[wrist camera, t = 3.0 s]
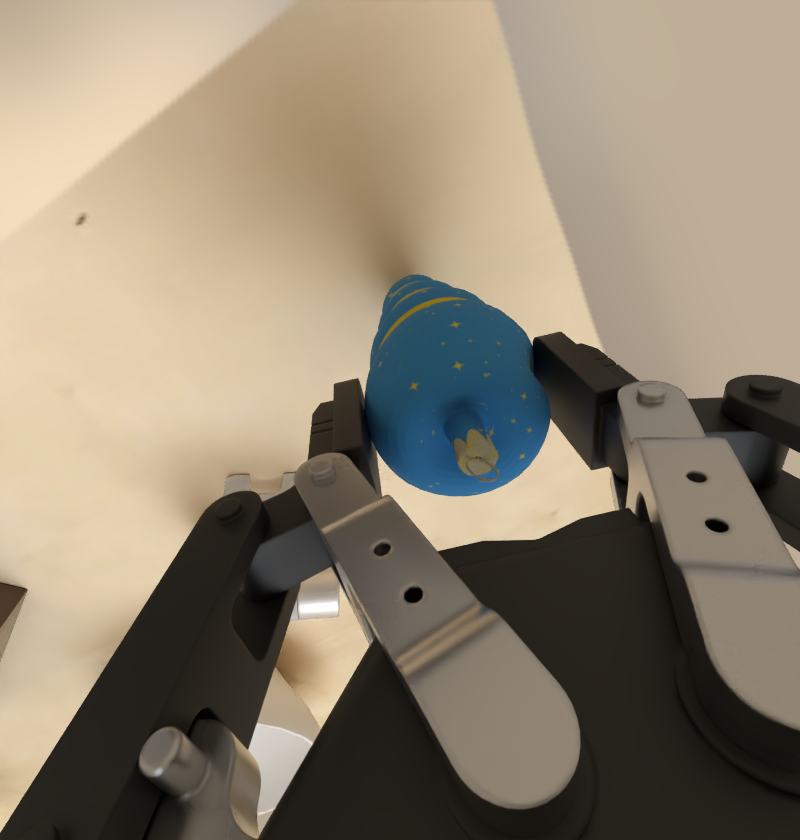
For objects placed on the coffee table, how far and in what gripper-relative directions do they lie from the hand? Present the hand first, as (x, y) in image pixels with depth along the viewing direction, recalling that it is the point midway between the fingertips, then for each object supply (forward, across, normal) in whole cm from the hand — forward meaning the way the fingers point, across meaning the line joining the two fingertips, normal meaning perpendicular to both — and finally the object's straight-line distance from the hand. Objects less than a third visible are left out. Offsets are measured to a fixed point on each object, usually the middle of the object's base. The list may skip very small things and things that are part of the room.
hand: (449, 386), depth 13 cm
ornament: (+11, 0, 0) cm, 11 cm away
